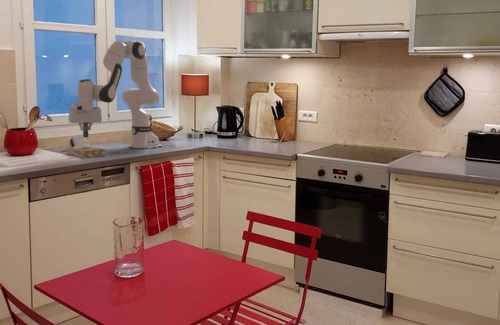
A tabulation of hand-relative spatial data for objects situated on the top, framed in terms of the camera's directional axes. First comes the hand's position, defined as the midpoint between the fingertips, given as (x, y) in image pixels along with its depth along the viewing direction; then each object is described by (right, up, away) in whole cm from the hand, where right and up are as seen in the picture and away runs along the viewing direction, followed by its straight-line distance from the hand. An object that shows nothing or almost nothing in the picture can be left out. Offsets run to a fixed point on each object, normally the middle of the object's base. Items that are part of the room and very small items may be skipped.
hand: (85, 130), depth 330 cm
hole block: (0, -15, +2) cm, 15 cm away
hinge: (-11, -11, +25) cm, 29 cm away
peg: (0, -4, +1) cm, 4 cm away
